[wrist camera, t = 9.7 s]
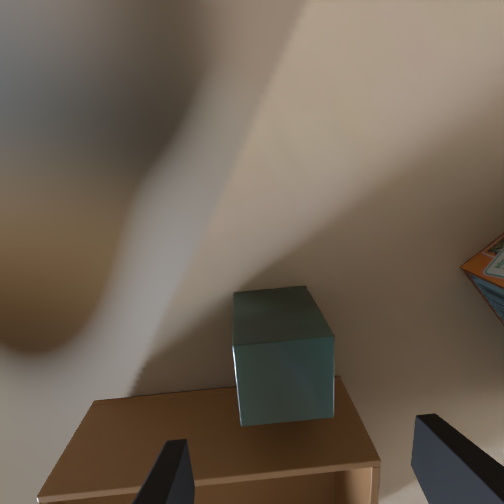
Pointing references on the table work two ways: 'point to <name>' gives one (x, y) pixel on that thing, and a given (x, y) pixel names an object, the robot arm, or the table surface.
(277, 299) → the block
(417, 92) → the table surface
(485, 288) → the milk carton
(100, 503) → the carton
